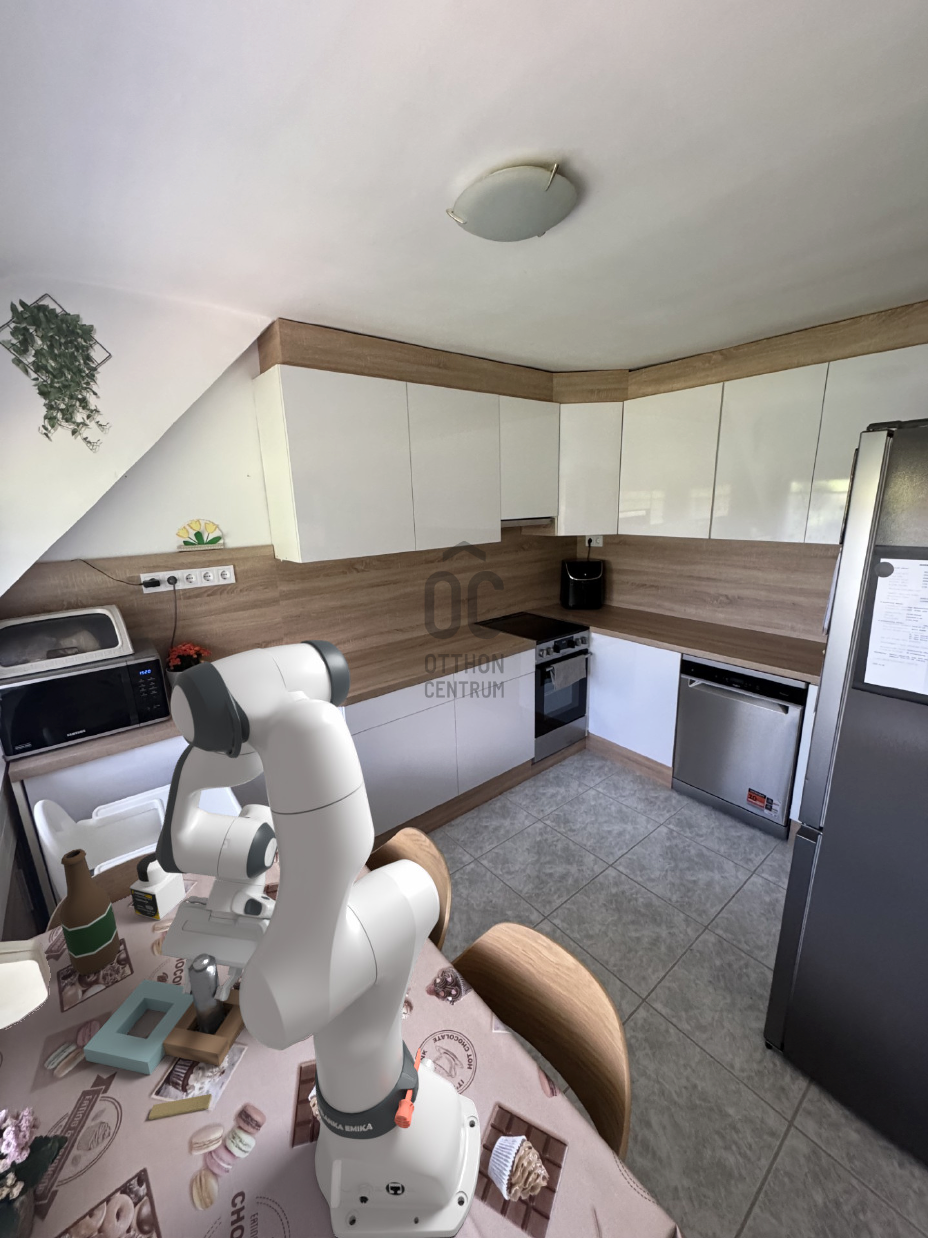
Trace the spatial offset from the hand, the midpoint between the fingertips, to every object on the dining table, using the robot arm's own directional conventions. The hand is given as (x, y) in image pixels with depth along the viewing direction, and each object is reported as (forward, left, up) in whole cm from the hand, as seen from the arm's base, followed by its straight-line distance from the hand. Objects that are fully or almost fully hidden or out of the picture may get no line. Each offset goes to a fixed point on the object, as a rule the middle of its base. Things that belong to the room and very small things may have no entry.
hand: (204, 997), depth 81 cm
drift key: (-3, +10, -8) cm, 13 cm away
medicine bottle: (+30, -23, -8) cm, 38 cm away
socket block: (0, -1, -7) cm, 7 cm away
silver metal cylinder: (0, -1, -7) cm, 7 cm away
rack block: (+11, +1, -7) cm, 13 cm away
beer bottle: (+32, -9, -8) cm, 34 cm away
